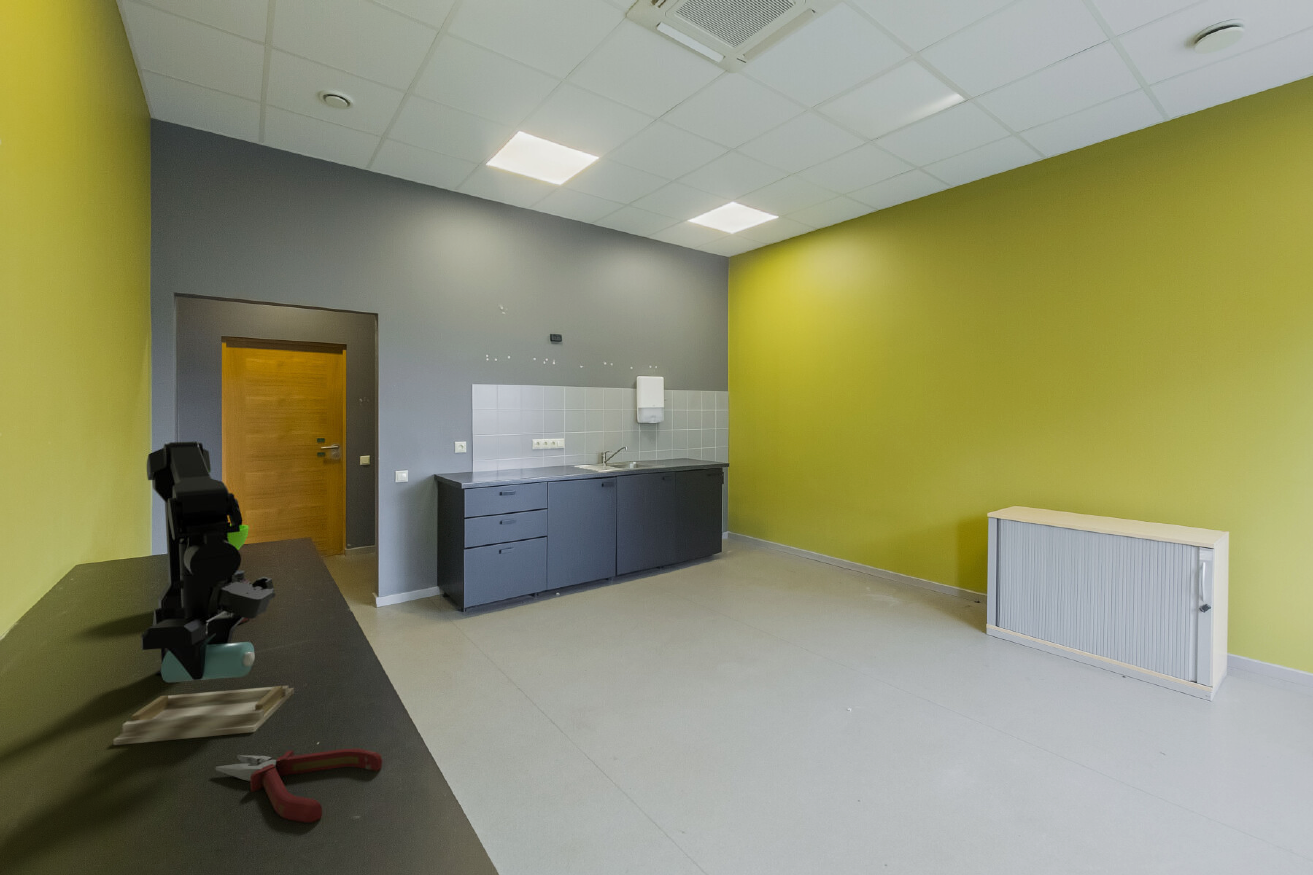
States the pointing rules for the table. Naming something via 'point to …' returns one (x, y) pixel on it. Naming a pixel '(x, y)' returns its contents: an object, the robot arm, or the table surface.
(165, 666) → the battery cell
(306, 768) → the pliers
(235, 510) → the robot arm
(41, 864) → the table surface
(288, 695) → the wooden tray
